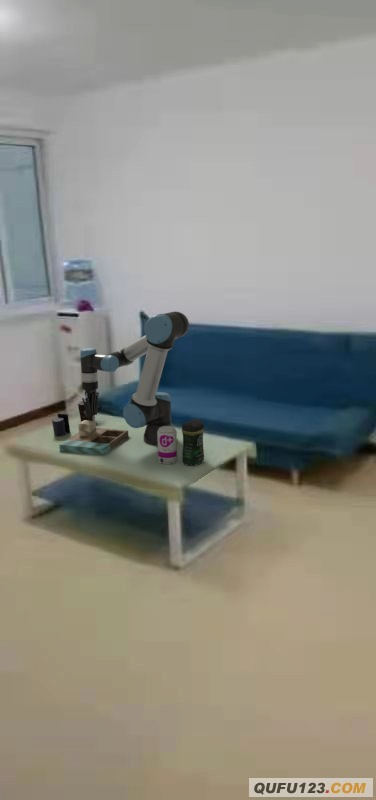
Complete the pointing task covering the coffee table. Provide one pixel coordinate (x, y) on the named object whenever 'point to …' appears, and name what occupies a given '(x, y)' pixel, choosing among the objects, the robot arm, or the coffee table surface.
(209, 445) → the coffee table surface
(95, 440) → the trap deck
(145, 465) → the coffee table surface
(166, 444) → the supplement can
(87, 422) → the birch block
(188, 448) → the coffee jar
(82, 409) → the coffee mug
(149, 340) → the robot arm
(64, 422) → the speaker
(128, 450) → the coffee table surface
